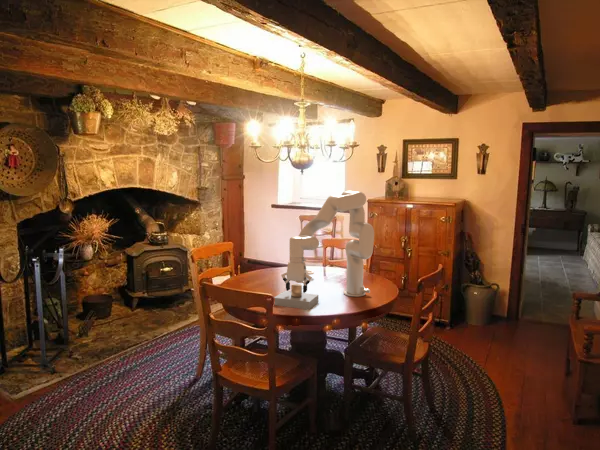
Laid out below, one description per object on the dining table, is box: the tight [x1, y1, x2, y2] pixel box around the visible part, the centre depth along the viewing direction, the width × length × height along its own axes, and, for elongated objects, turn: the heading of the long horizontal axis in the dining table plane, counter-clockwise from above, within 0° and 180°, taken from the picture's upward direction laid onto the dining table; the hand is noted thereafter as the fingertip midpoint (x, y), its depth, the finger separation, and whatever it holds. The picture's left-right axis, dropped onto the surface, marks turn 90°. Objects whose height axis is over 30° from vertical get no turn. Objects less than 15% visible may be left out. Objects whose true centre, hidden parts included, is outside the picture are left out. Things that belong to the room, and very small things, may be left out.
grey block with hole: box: [273, 290, 319, 311], centre depth 234 cm, size 20×14×4 cm
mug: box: [306, 268, 315, 276], centre depth 287 cm, size 12×10×8 cm
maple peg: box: [290, 283, 303, 298], centre depth 233 cm, size 6×6×9 cm
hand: (296, 291), depth 233 cm, fingers open, 9 cm apart
